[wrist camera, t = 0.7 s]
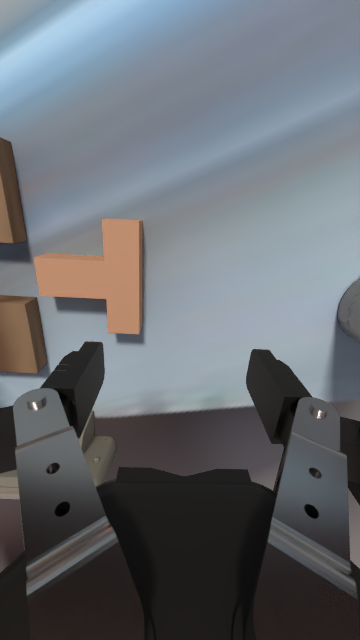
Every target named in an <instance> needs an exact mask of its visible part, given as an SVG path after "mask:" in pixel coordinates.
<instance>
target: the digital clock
mask: <svg viewBox="0 0 360 640" xmlns="http://www.w3.org/2000/svg"><path fill="white" fill-rule="evenodd" d="M78 441H79V443H80V446H81V449H82V452H83V454H84V457H85V460H86V462H87V465H88V468H89V471H90V473H91V476H92V479H93V481H94V484H95V487H96V486H98V485H100V484H102V483H104V482H105V479H106V476H107V474H108V471H109V468H110V465H111V463H112V460H113V458H114V455H115V452H116V449H117V443H116V441H115V440H114V439H113V438H112V437H109V436H95V428H94V412H93V411H91V413H90V415H89V418H88V420H87V422H86V425H85V427H84V430H83V432H82V435H81V437H80V438H78ZM0 498H4V499H20V497H19V486H18V476H17V469H16V470H13V471H9V472H5V473H1V474H0Z"/></svg>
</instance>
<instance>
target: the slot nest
mask: <svg viewBox="0 0 360 640" xmlns="http://www.w3.org/2000/svg"><path fill="white" fill-rule="evenodd" d="M24 241H27V237H26V231H25V225H24V219H23V213H22V207H21V201H20V195H19V189H18V183H17V177H16V171H15V165H14V159H13V153H12V147H11V142H9V141H7V140H5V139H3V138H0V243H18V242H24ZM46 363H47V357H46V351H45V345H44V339H43V333H42V327H41V321H40V315H39V309H38V303H37V297H21V296H2V295H0V372H16V373H39V371H40V370H41V369H42V368H43V367H44V366H45V365H46Z"/></svg>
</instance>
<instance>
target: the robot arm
mask: <svg viewBox="0 0 360 640" xmlns="http://www.w3.org/2000/svg"><path fill="white" fill-rule="evenodd" d="M338 319H339V323H340V325H341V327H342V329H343V330H344V331H345V332H346V333H347V334H348V335H349V336H351V337H352V338H354V339H355V340H357V341H358V342H360V278H359V279H358V280H357V281H355V282H354V283H353V284H352V285H351V286H350V287H349V288H348V290H347V291H346V293H345V294H344V296H343V298H342V300H341V302H340V305H339V310H338ZM104 373H105V369H104V352H103V343H102V342H85V343H84V344H83V346H82V347H81V348H80V350H79V351H73V352H71V353H69V354H68V355H66V356H65V357H64V358H63V359H62V360H61V362H60V363H59V365H57V367H56V368H55V370H54V371H53V372H52V373H51V375H50V376H49V377H48V378H47V380H46V381H45V382H44V384H43V385H42V386H41V388H40V389H35V390H31V391H29V392H26V393H25V394H23V395H21V396H20V397H19V398H18V399H17V400H16V401H15V402H14V405H13V406H9V407H4V408H0V474H1V473H5V472H9V471H13V470H16V469H17V476H18V486H19V497H20V506H21V517H22V528H23V538H24V549H25V550H24V551H23V552H22V553H21V554H20V555H19V556H18V557H16V558H15V559H14V560H13V561H12V562H11V563H10V564H9V565H8V566H7V567H6V568H5V569H4V570H3V571H2V572H1V573H0V640H360V569H359V568H358V567H357V566H356V565H355V564H354V563H353V562H352V561H350V543H349V542H350V541H349V510H348V488H349V490H350V491H351V493H352V494H353V496H354V497H355V499H356V500H357V502H358V503H359V505H360V422H359V421H356V420H351V419H348V418H343V417H340V415H339V413H338V411H337V410H336V409H335V408H334V407H333V406H332V405H330V404H329V403H327V402H325V401H323V400H321V399H318V398H314V397H312V396H311V395H310V393H309V392H308V391H307V389H306V388H305V387H304V386H303V384H302V383H301V382H300V380H298V378H297V377H296V375H295V374H294V373H293V371H292V370H291V369H290V368H289V366H287V365H286V364H284V363H283V362H282V361H280V360H276V358H275V357H274V356H273V354H272V353H271V352H270V350H262V349H253V350H252V352H251V356H250V361H249V366H248V371H247V376H246V384H247V389H248V391H249V393H250V396H251V398H252V400H253V402H254V405H255V407H256V409H257V411H258V414H259V416H260V418H261V421H262V423H263V425H264V427H265V430H266V432H267V434H268V437H269V439H270V441H271V443H272V444H283V446H284V450H283V453H282V457H281V461H280V465H279V469H278V473H277V477H276V481H275V485H274V489H273V491H272V490H271V489H269V488H267V487H265V486H263V485H260V484H258V483H255V482H252V481H251V479H250V476H249V473H248V470H242V469H215V470H211V471H207V472H203V473H199V474H195V475H190V476H179V475H175V474H172V473H168V472H165V471H161V470H157V469H153V468H129V467H119V469H118V474H117V479H114V480H110V481H107V482H105V483H102V484H100V485H98V486H96V487H95V484H94V481H93V479H92V476H91V473H90V471H89V468H88V465H87V462H86V460H85V457H84V454H83V452H82V449H81V446H80V443H79V441H78V438H80V437H81V435H82V432H83V430H84V427H85V425H86V422H87V420H88V418H89V415H90V413H91V410H92V408H93V406H94V403H95V401H96V398H97V396H98V394H99V391H100V389H101V386H102V384H103V381H104Z"/></svg>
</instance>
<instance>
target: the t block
mask: <svg viewBox="0 0 360 640" xmlns="http://www.w3.org/2000/svg"><path fill="white" fill-rule="evenodd" d="M102 229H103V247H104V257H103V256H86V255H69V254H52V253H47V254H43V255H40V256H37V257H34V263H35V269H36V275H37V281H38V288H39V294H40V296H55V297H74V298H94V299H106V301H107V319H108V333H123V334H139V333H140V330H141V327H142V306H143V221H141V220H125V219H102Z"/></svg>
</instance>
